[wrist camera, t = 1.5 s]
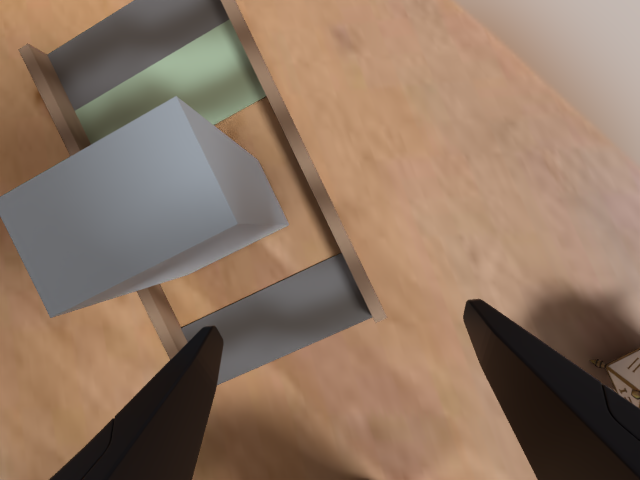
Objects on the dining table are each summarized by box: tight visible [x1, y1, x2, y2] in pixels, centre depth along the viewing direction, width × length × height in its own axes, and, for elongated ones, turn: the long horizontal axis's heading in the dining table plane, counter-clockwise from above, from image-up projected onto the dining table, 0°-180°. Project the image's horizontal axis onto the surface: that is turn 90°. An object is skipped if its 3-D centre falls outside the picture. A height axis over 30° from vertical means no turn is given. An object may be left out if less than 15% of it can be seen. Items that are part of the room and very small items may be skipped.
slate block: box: [0, 96, 289, 318], centre depth 17 cm, size 6×10×11 cm, turn 116°
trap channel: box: [18, 0, 387, 385], centre depth 22 cm, size 33×18×2 cm, turn 26°
